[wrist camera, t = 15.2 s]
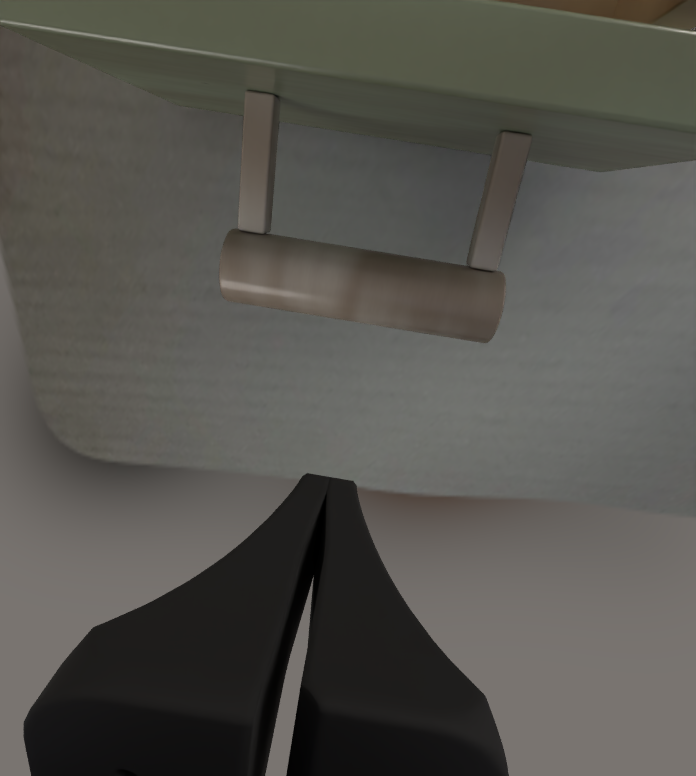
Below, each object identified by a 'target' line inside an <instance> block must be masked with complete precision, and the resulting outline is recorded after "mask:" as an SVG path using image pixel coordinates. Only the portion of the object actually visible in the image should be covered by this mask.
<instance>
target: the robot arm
mask: <svg viewBox="0 0 696 776" xmlns="http://www.w3.org/2000/svg"><path fill="white" fill-rule="evenodd" d="M313 576H314V580H313V591H312V602H311V614H310V626H309V638H308V649H307V655H306V660H305V665H304V671H303V677H302V682H301V688H300V694H299V700H298V706H297V713H296V719H295V725H294V731H293V737H292V744H291V750H290V756H289V763H288V769H287V775H286V776H509V774H508V768H507V762H506V757H505V753H504V749H503V745H502V742H501V739H500V736H499V733H498V730H497V727H496V724H495V721H494V718H493V715H492V713H491V710H490V707H489V704H488V702H487V699H486V697H485V695H484V694H483V693H482V692H481V691H480V690H479V689H478V688H477V687H476V686H475V685H474V684H473V683H472V682H471V681H470V680H469V679H468V678H467V677H466V676H465V675H464V674H463V673H462V672H461V671H460V670H459V669H458V668H457V667H456V666H455V665H454V664H453V663H452V662H451V661H450V659H449V658H448V657H447V656H446V655H445V654H444V653H443V651H442V650H441V649H440V648H439V647H438V646H437V644H436V643H435V642H434V641H433V640H432V638H431V637H430V636H429V635H428V633H427V632H426V630H425V629H424V627H423V626H422V625H421V623H420V622H419V621H418V619H417V618H416V617H415V615H414V614H413V613H412V611H411V610H410V609H409V607H408V606H407V604H406V602H405V601H404V599H403V598H402V596H401V595H400V593H399V591H398V590H397V588H396V586H395V585H394V583H393V581H392V579H391V578H390V576H389V574H388V572H387V570H386V568H385V567H384V564H383V562H382V561H381V558H380V556H379V554H378V552H377V550H376V548H375V545H374V543H373V540H372V538H371V536H370V533H369V530H368V528H367V525H366V522H365V520H364V516H363V514H362V510H361V507H360V503H359V499H358V494H357V486H356V484H355V483H354V482H353V481H350V480H344V479H338V478H332V477H326V476H320V475H314V474H308V473H307V474H305V475H304V476H302V478H301V480H300V481H299V483H298V484H297V486H296V487H295V488H294V490H293V491H292V492H291V493H290V494H289V496H288V497H287V498H286V499H285V500H284V502H283V503H282V504H281V505H280V506H279V507H278V508H277V509H276V510H275V512H273V514H272V515H271V516H270V517H269V518H268V519H267V520H266V521H265V522H264V523H263V524H262V525H260V526H259V527H258V528H257V529H256V530H255V531H254V532H253V533H252V534H251V535H250V536H249V537H248V538H247V539H245V540H244V541H243V542H242V543H241V544H240V545H238V546H237V547H236V548H235V549H233V550H232V551H231V552H230V553H228V554H227V555H226V556H225V557H223V558H222V559H220V560H219V561H218V562H216V563H215V564H214V565H212V566H210V567H209V568H207V569H206V570H204V571H203V572H202V573H200V574H199V575H197V576H196V577H194V578H192V579H191V580H190V581H188V582H186V583H184V584H183V585H181V586H179V587H177V588H175V589H174V590H172V591H170V592H168V593H166V594H165V595H163V596H161V597H159V598H157V599H156V600H154V601H152V602H150V603H148V604H146V605H144V606H142V607H139V608H137V609H135V610H133V611H130V612H128V613H126V614H124V615H121V616H119V617H117V618H114V619H112V620H110V621H108V622H105V623H103V624H100V625H98V626H95V627H93V628H92V629H91V631H90V632H89V633H88V634H87V635H86V636H85V637H84V639H83V640H82V641H81V642H80V643H79V645H78V646H77V647H76V648H75V649H74V650H73V651H72V653H71V654H70V655H69V656H68V657H67V658H66V660H65V661H64V662H63V663H62V665H61V666H60V667H59V669H58V670H57V672H56V673H55V674H54V676H53V677H52V679H51V680H50V682H49V683H48V685H47V686H46V688H45V689H44V690H43V692H42V693H41V695H40V696H39V697H38V699H37V700H36V702H35V703H34V705H33V706H32V707H31V709H30V711H29V713H28V715H27V717H26V719H25V721H24V741H25V746H26V752H27V757H28V762H29V766H30V772H31V776H265V773H266V768H267V763H268V757H269V753H270V748H271V743H272V738H273V733H274V728H275V723H276V718H277V713H278V708H279V703H280V698H281V693H282V688H283V683H284V679H285V674H286V670H287V666H288V662H289V658H290V654H291V651H292V647H293V644H294V640H295V637H296V634H297V630H298V627H299V623H300V620H301V616H302V613H303V610H304V606H305V603H306V600H307V596H308V593H309V590H310V586H311V582H312V579H313Z"/></svg>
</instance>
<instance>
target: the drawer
mask: <svg viewBox="0 0 696 776" xmlns="http://www.w3.org/2000/svg"><path fill="white" fill-rule="evenodd" d="M0 25H1V26H2V27H5V28H7V29H9V30H11V31H14V32H16V33H18V34H20V35H22V36H25V37H27V38H29V39H31V40H34V41H36V42H38V43H40V44H43V45H45V46H47V47H49V48H51V49H54V50H56V51H58V52H60V53H63V54H65V55H67V56H69V57H71V58H74V59H76V60H78V61H80V62H83V63H85V64H87V65H89V66H92V67H94V68H96V69H98V70H100V71H103V72H105V73H107V74H109V75H112V76H114V77H116V78H118V79H120V80H123V81H125V82H127V83H129V84H132V85H134V86H136V87H138V88H140V89H143V90H145V91H147V92H149V93H152V94H154V95H156V96H158V97H161V98H163V99H165V100H167V101H169V102H172V103H174V104H176V105H178V106H184V107H190V108H196V109H203V110H209V111H215V112H222V113H228V114H234V115H241V116H244V119H243V138H242V157H241V176H240V196H239V215H238V229H232V230H230V231H229V232H228V234H227V236H226V238H225V241H224V244H223V247H222V251H221V256H220V265H219V282H220V289H221V293H222V296H223V298H224V299H225V300H227V301H230V302H237V303H243V304H249V305H255V306H261V307H267V308H273V309H279V310H285V311H291V312H297V313H303V314H310V315H316V316H322V317H328V318H334V319H340V320H346V321H352V322H358V323H364V324H370V325H376V326H383V327H389V328H395V329H401V330H407V331H413V332H419V333H425V334H431V335H437V336H443V337H449V338H456V339H462V340H468V341H474V342H480V343H488V342H489V341H490V340H491V339H492V337H493V336H494V334H495V332H496V330H497V328H498V325H499V322H500V319H501V316H502V312H503V308H504V302H505V295H506V279H505V275H504V273H502V272H501V271H496V270H497V269H498V266H499V262H500V259H501V255H502V251H503V247H504V244H505V240H506V236H507V232H508V229H509V225H510V221H511V217H512V214H513V210H514V206H515V203H516V199H517V195H518V191H519V188H520V184H521V180H522V176H523V173H524V169H525V165H526V161H532V162H539V163H545V164H551V165H558V166H564V167H570V168H577V169H583V170H589V171H596V172H606V171H614V170H622V169H630V168H638V167H646V166H654V165H662V164H670V163H678V162H686V161H694V160H696V31H694V30H690V29H692V28H694V27H696V0H0ZM279 122H285V123H292V124H298V125H304V126H311V127H317V128H323V129H330V130H336V131H342V132H349V133H355V134H361V135H368V136H374V137H380V138H387V139H393V140H399V141H406V142H412V143H418V144H425V145H431V146H437V147H444V148H450V149H456V150H463V151H469V152H475V153H482V154H488V155H492V157H491V161H490V165H489V169H488V173H487V178H486V182H485V186H484V190H483V194H482V198H481V203H480V207H479V211H478V215H477V219H476V223H475V228H474V232H473V236H472V240H471V244H470V248H469V253H468V257H467V261H466V262H467V265H469V266H464V265H458V264H452V263H446V262H440V261H433V260H427V259H421V258H415V257H409V256H402V255H396V254H390V253H384V252H378V251H372V250H365V249H359V248H353V247H347V246H341V245H334V244H328V243H322V242H316V241H310V240H304V239H297V238H291V237H285V236H279V235H273V234H266V233H268V232H270V230H271V219H272V206H273V193H274V181H275V168H276V155H277V142H278V129H279Z"/></svg>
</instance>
